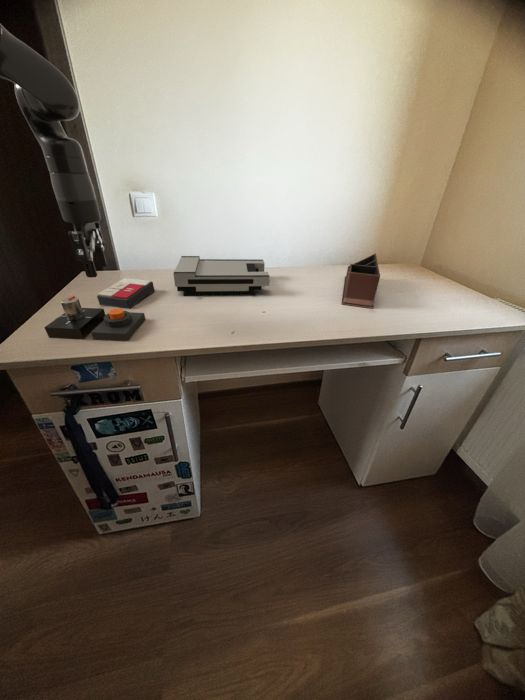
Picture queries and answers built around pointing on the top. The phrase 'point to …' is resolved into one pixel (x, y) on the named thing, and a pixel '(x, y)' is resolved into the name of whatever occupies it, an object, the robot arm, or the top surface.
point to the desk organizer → (361, 283)
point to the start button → (116, 314)
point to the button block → (118, 327)
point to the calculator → (126, 293)
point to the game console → (219, 276)
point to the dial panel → (75, 324)
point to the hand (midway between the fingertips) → (97, 271)
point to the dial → (72, 308)
